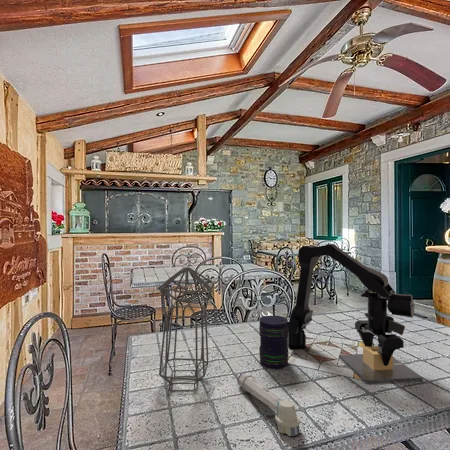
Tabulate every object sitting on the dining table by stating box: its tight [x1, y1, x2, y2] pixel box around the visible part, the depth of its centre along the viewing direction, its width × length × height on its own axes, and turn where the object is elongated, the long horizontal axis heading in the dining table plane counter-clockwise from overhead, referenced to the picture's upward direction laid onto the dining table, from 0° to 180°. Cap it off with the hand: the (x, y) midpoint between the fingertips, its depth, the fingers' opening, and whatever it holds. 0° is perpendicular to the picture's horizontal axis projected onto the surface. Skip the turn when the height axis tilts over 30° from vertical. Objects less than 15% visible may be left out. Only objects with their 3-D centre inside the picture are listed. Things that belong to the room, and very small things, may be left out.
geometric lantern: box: [156, 266, 214, 392], centre depth 93 cm, size 16×16×35 cm
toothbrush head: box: [237, 372, 302, 437], centre depth 80 cm, size 5×7×25 cm
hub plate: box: [338, 351, 424, 384], centre depth 102 cm, size 18×18×6 cm
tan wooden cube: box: [362, 345, 394, 370], centre depth 102 cm, size 6×6×6 cm
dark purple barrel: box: [258, 315, 289, 371], centre depth 106 cm, size 10×10×15 cm
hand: (377, 359), depth 102 cm, fingers open, 9 cm apart
